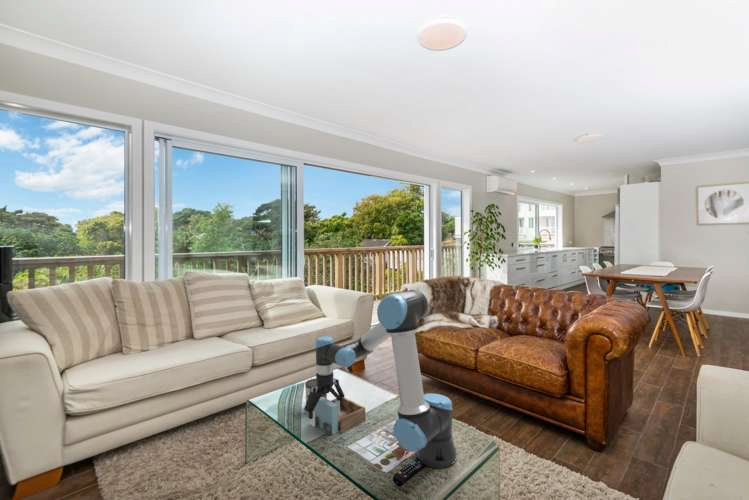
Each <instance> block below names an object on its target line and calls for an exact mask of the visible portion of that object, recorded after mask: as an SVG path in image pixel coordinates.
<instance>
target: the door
mask: <svg viewBox="0 0 749 500" xmlns="http://www.w3.org/2000/svg"><path fill="white" fill-rule="evenodd" d="M314 411H315V416H316V417H317V418H318V427H320V428H321V429H323V423H327V424H329V425H330V435H332V436H333V435H335V434H337V433H339V431H338V405H337V404H335V403H333V402H331V400H329V399H328V398H327V399H326V398H324V397H321V398H320V399H319V401H318V403H317V405H316V407H315V409H314Z"/></svg>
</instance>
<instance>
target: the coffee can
mask: <svg viewBox="0 0 749 500" xmlns="http://www.w3.org/2000/svg"><path fill="white" fill-rule="evenodd" d="M304 385H305V403H306V402H307V399H308V397H309V394H310V388H311V387H316V386H317V382H316V378H311V379H308V380H306V381H305V382H304ZM316 391H317V390H316ZM319 394H320V393H319ZM322 397H324V398H326V399H327V400H328V398H327V397H328V393H326V394H325V395H322ZM305 413H306V415H308V416H309V414H308V412H307V411H305Z"/></svg>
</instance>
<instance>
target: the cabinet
mask: <svg viewBox="0 0 749 500" xmlns="http://www.w3.org/2000/svg"><path fill="white" fill-rule="evenodd" d="M335 399H337V398H336V397H335V398H334V399H331V400H330V401H331V402H333V403H335ZM364 422H366V407H364V406H363V405H360V404H358V403H356V402H354V401H352V400H350V399H348V398H347V397H345V396H344V397H343V400H342V401H341V406H340V415H338V432H340V433H344V432H346V431H348V430H350V429H352V428H353V427H356V426H358V425H360V424H362V423H364ZM318 427H319V426H318V418H317V417H316V416H315V426H314V428H318ZM322 432H323V434H325V435H326V436H331V434H330V425H329V424H327V423H323V428H322Z"/></svg>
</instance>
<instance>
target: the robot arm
mask: <svg viewBox="0 0 749 500" xmlns="http://www.w3.org/2000/svg"><path fill="white" fill-rule="evenodd" d="M428 310H429V301H428V299H427V296H426V295H425V294H424V293H422V292H421V291H420V290H416V289H409V290H406V291H405V290H404V291H402V292H401V291H400V292H394V293H391V294H387V295H386V296H384V297H383V298H382V299H381V300H380V301H379V302H378V305H377V310H376V311H377V312H376V313H377V314H376V315H377V319H378V321H379V322H378V323H377V324H375V325H374V326H373V327H372V328H370V329H369V330H368V331H367V332H366V333H364V334H363V335H362V336H361V337H359V338H358V339H356V340H353V341H352V342H351V341H350V342H348V343H345V344H342V345H339V344H336V343H334V339H333V337H331V336H329V335H327V336H326V335H324V336H323V335H322V336H319V337H317V338H316V340H315V372H316V374H315V376H316V377H315V379H316V382H317V386H316V387H311V388H310V394H309V397H308V399H307V402H306V401H305V404H304V409H303V410H304V411H305V412H306V411H307V412H308V414H309V415H308V414H307V415H308V419H309V425H310V426H312V427H314V426H315V411H314V409H315V407H316V405H317V403H318V401H319V399H320V398H321V397H322V395H325V394H326V393H327V394H329V393H331V394H332V395H333V397H335V398H334V399H335V404H337V405H338V415H340V406H341V401H342V400H343V397H345V396H346V395H345V393H344V391H343V389H342V387H341V385H340V381H339V380H340V379H337V378H334V365H338V366H339V367H340V366H341V367H346V368H349V367H351V366H352V365H353V364H354V363H355V361H356V360H358V359H361V358H363V357H365V356H369V355H370V354H372V353H374V349H376V348H378V347H379V346H380V345H381V344H383V343H384V342H385V341H387V340H388V339H390V338H391V346H392V352H393V358H394V366H395V372H396V379H397V387H398V393H399V394H398V395H399V400H400V401H399V402H400V404H399V405H398V406H397V409H396V410H397V417H398V419H397V420H396V421H395V423H394V424H393V429H392V430H393V434H394V435H393V436H394V438H395V440H396V442H397V443H398V444H399V445H400V446H401V447H402V448H403V449H405V450H406V451H408V452H412V453H415V452H416V457H417V460H418V461H419V462H420V463H421V464H423V463H424V464H423V465H425V466H428V467H430V468H435V469H444V468H449V467H451V466H452V465H451V464H452V463H453V462H454V461H455V459H456V457H457V456H458V455H457V449H456V446H455V443H454V438H453V410H454V409H453V403H452V402H453V401H452V400H451V399H450V398H449V397H448V396H445V395H443V394H439V393H433V392H431V393H425V394H424V387H423V386H424V385H423V380H422V373H421V366H420V358H419V354H418V346H417V338H416V332H417V331H418V330H419V324H418V321H419V320H422V319H423V318H424V317H425V316H426V315H427V313H428V312H429V311H428ZM333 386H334V387H335V389H334V388H333ZM316 390H317V391H316ZM335 390H336V391H337V392H336V391H335ZM319 393H320V394H319ZM336 398H337V399H336ZM314 428H315V427H314ZM457 458H458V457H457ZM456 460H457V459H456ZM450 465H451V466H450Z"/></svg>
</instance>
